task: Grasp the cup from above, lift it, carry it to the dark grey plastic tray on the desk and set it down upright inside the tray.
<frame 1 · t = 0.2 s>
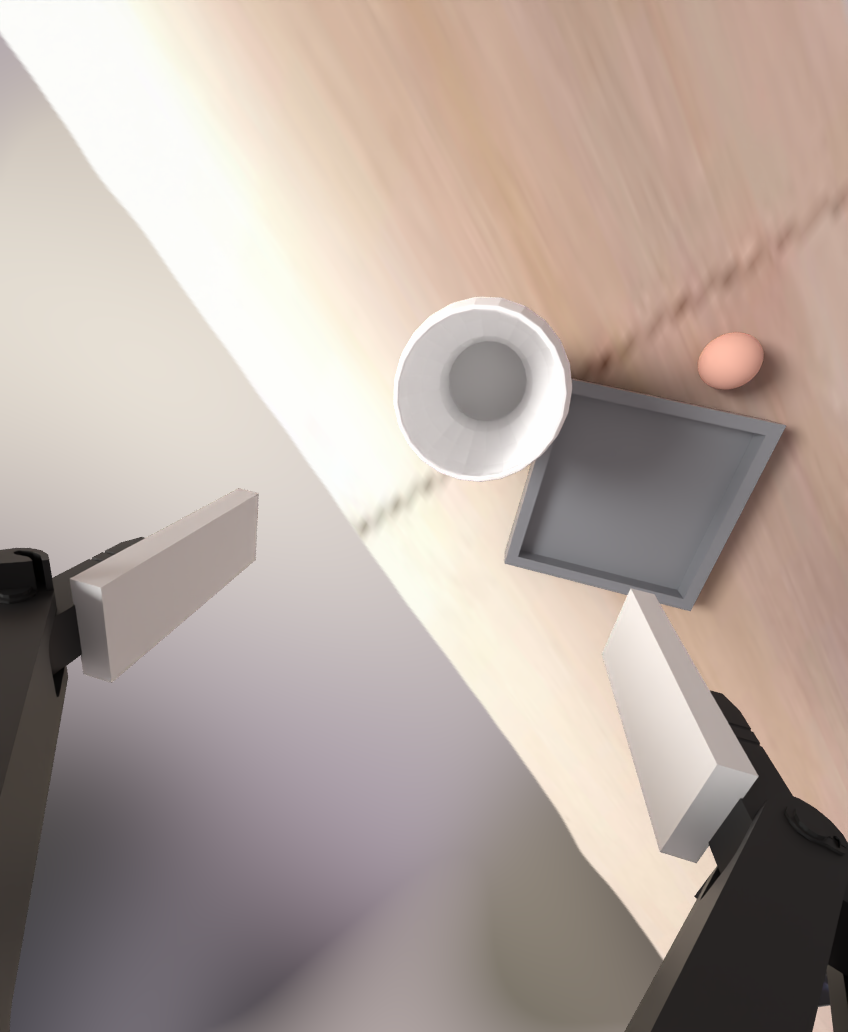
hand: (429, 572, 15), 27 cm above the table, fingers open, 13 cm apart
cup: (489, 379, 38), on the table
tray: (623, 493, 40), on the table
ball: (717, 360, 35), on the table
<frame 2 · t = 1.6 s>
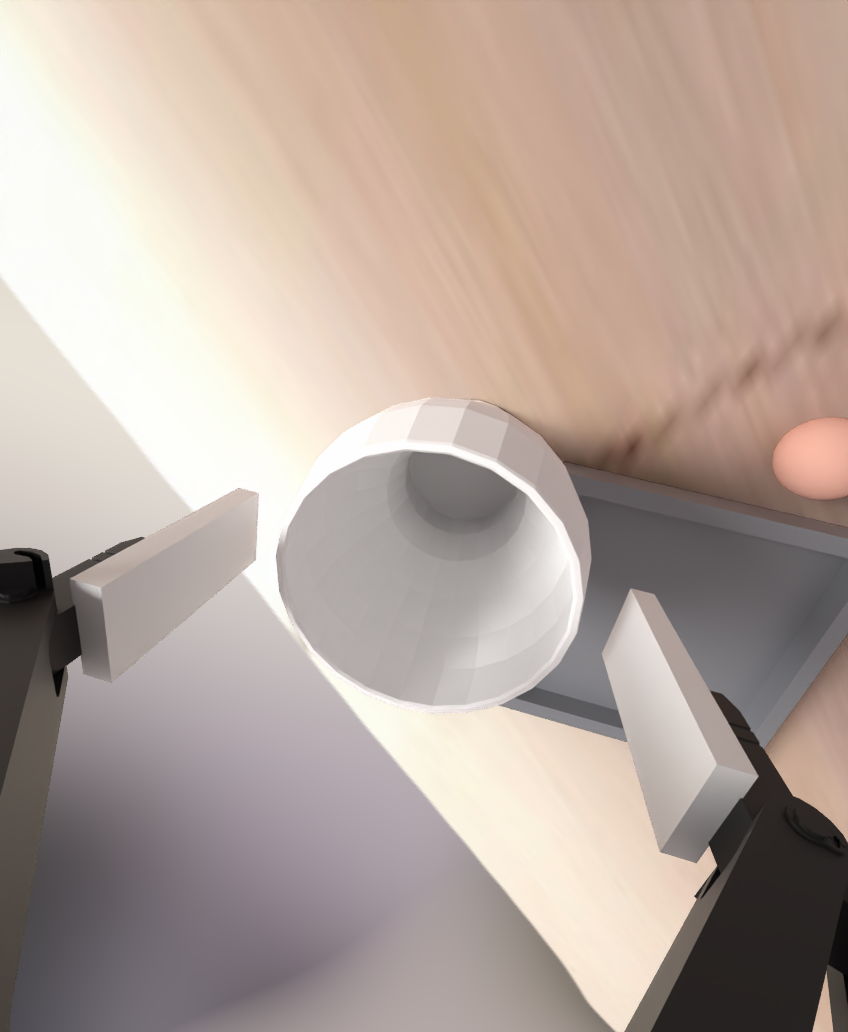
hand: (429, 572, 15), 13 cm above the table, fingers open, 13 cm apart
cup: (467, 463, 27), on the table
tray: (653, 616, 29), on the table
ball: (800, 449, 24), on the table
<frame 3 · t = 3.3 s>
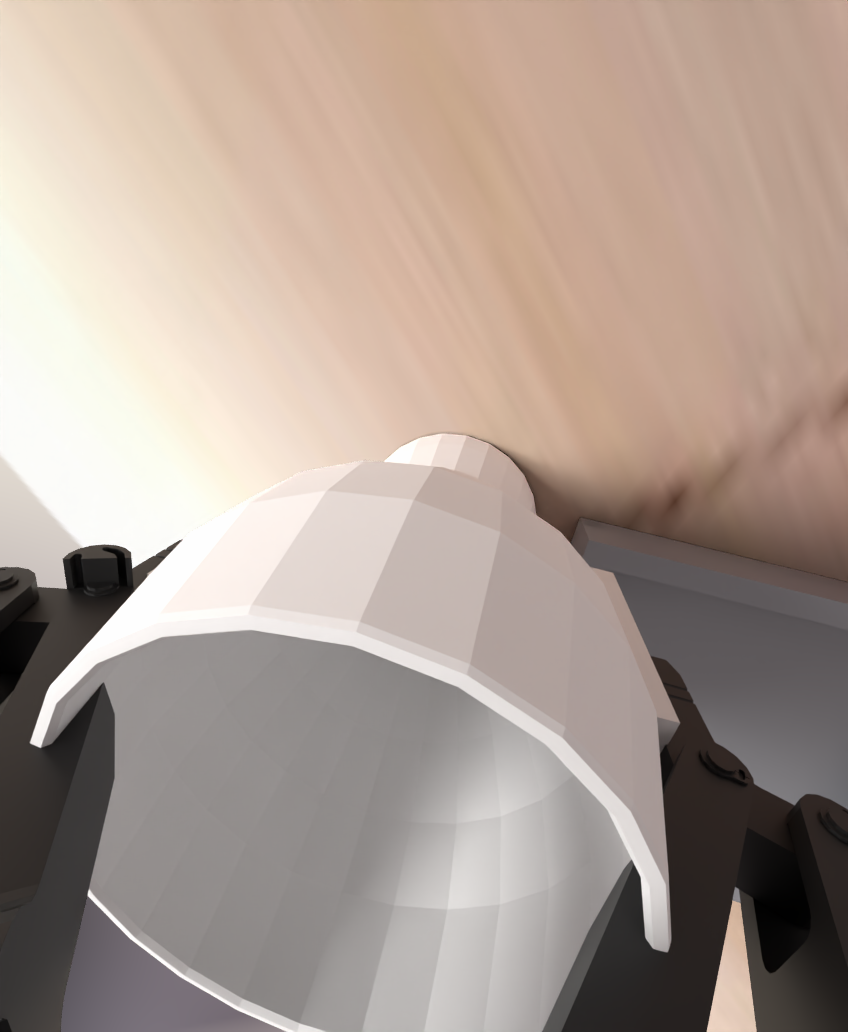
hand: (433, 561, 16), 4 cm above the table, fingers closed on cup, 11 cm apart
cup: (449, 516, 20), on the table, touching gripper
tray: (697, 716, 22), on the table
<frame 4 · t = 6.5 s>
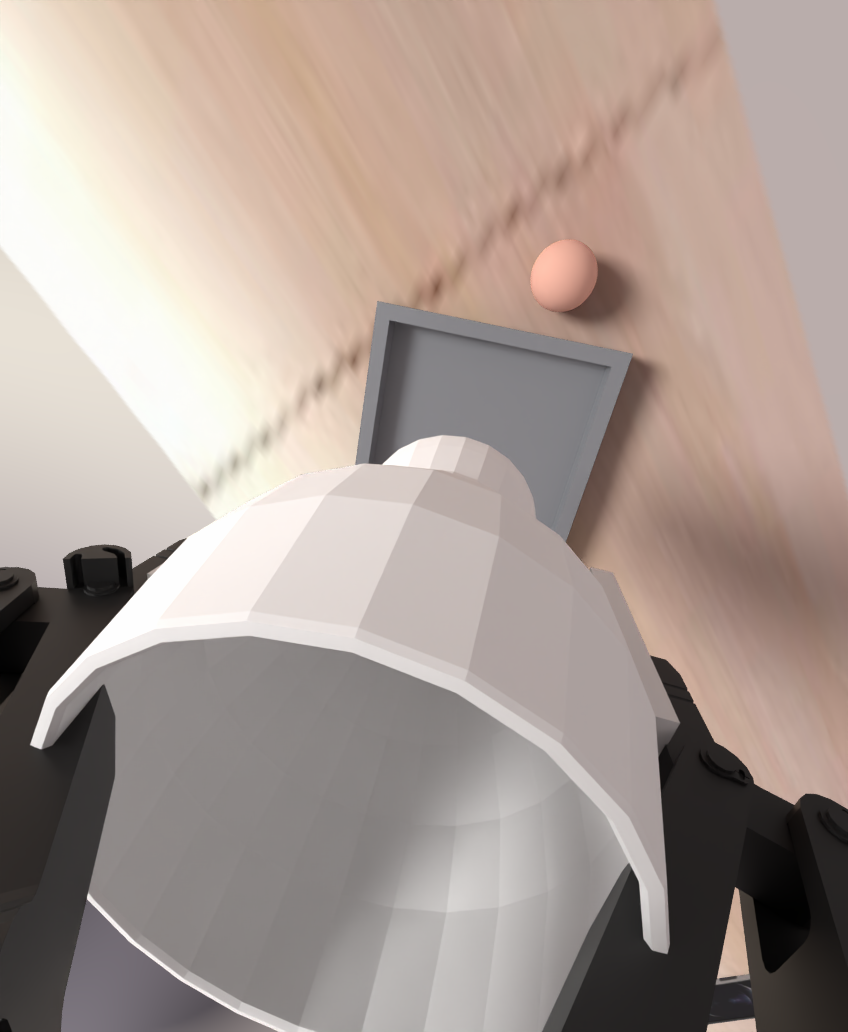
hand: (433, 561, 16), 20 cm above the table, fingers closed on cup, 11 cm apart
smartphone: (720, 991, 54), on the table
cup: (449, 517, 20), point 15 cm above the table, touching gripper
tray: (474, 444, 34), on the table
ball: (560, 280, 30), on the table
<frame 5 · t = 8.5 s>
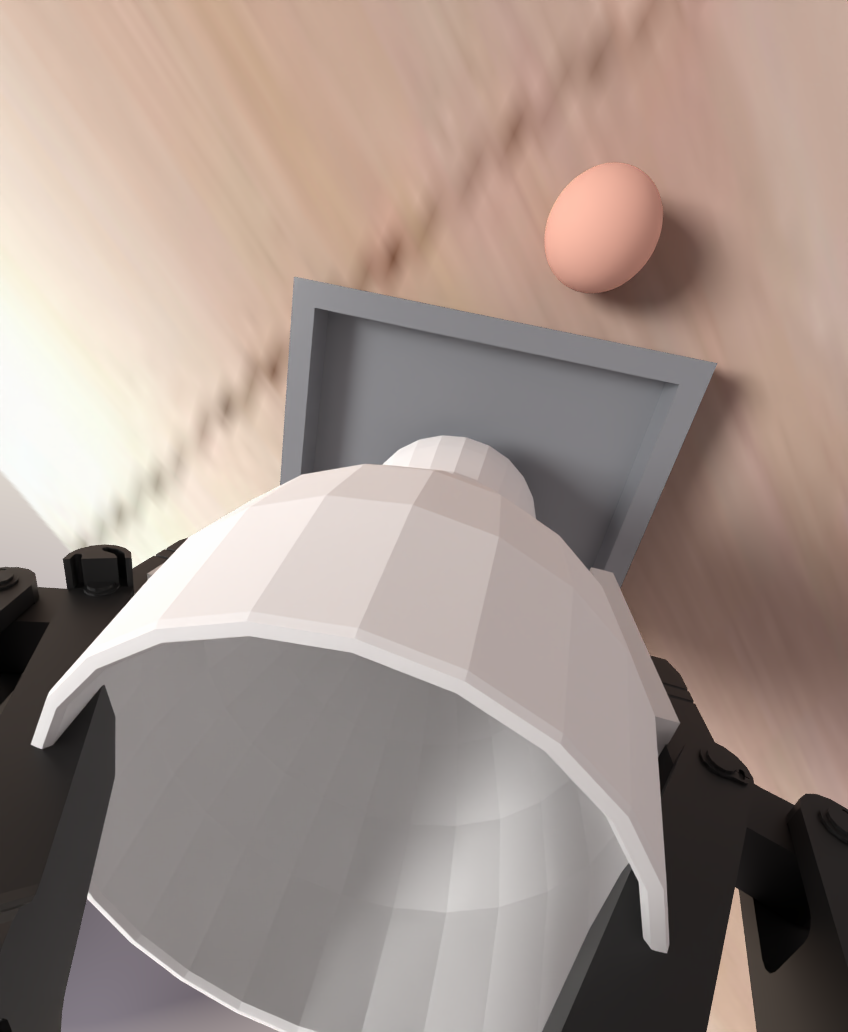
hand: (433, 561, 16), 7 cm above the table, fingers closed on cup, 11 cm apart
cup: (448, 517, 20), point 3 cm above the table, touching gripper
tray: (456, 496, 23), on the table
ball: (591, 243, 18), on the table
when the fingers open (7 cm above the table, at t = 9.7 s): cup drops 2 cm, resting on tray.
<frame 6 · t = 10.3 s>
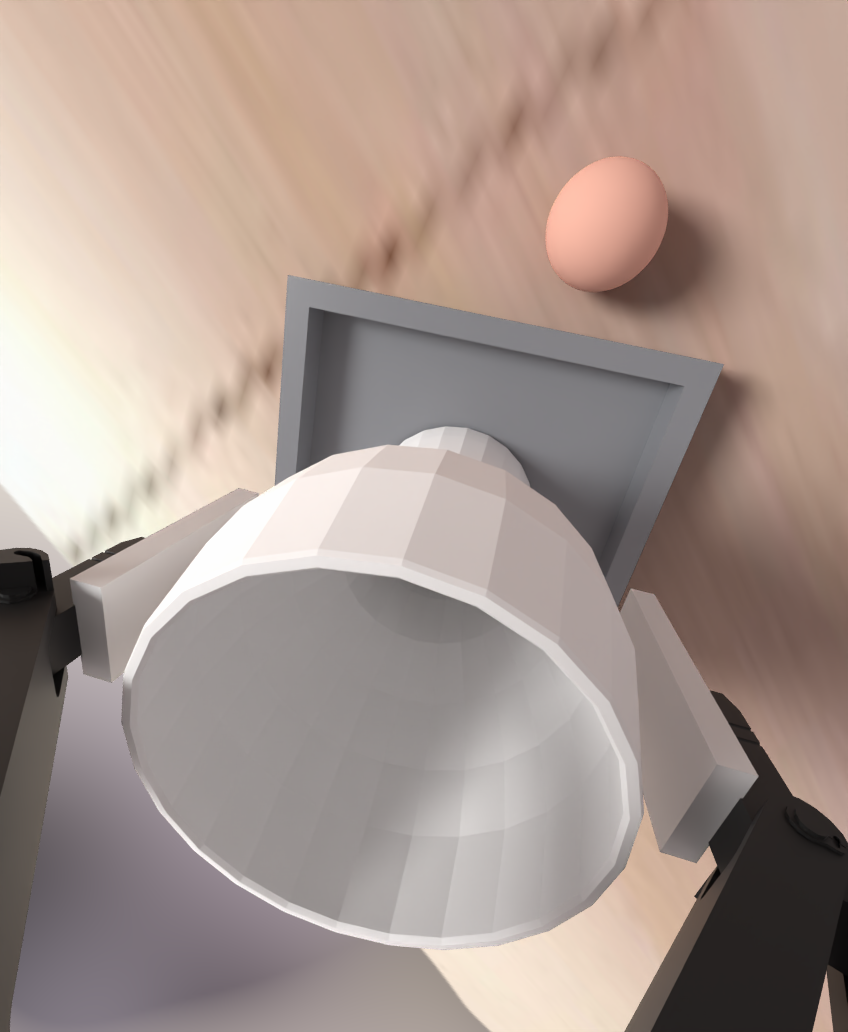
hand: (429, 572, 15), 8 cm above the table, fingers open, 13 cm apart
cup: (451, 503, 22), point 1 cm above the table, touching tray
tray: (454, 500, 22), on the table
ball: (594, 240, 18), on the table
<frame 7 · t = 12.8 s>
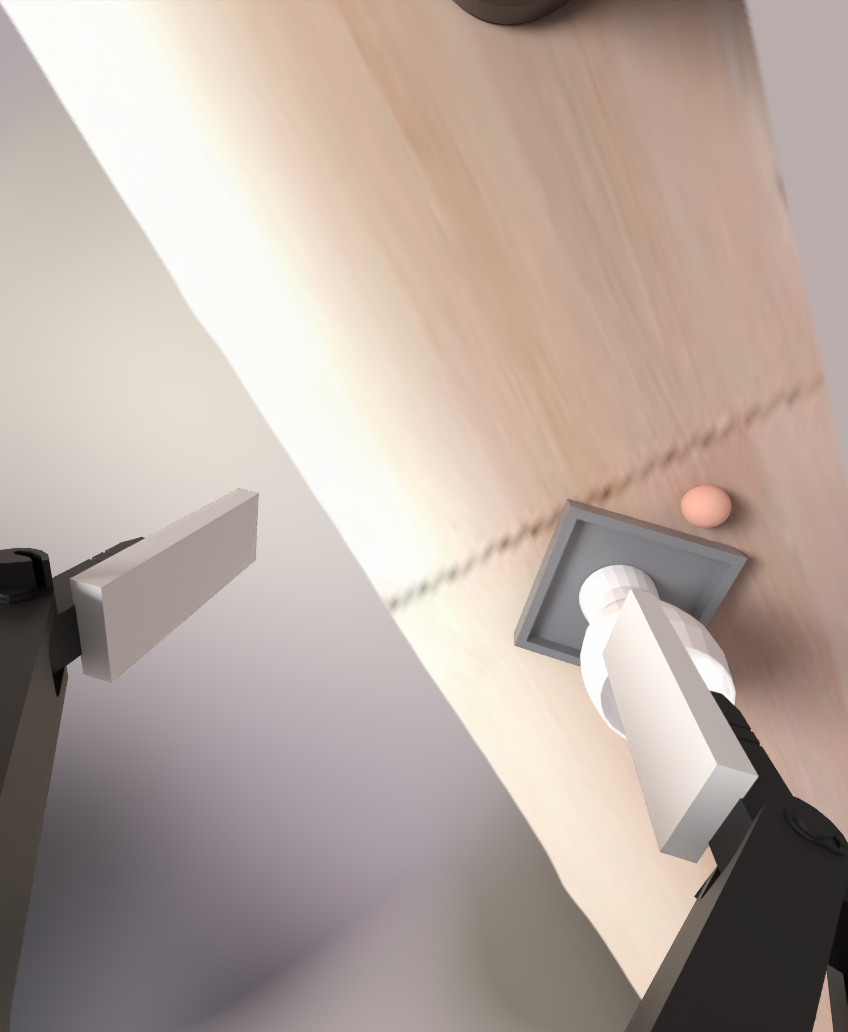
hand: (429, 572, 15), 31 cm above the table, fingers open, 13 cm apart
cup: (616, 596, 47), point 1 cm above the table, touching tray
tray: (616, 593, 48), on the table
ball: (696, 500, 43), on the table
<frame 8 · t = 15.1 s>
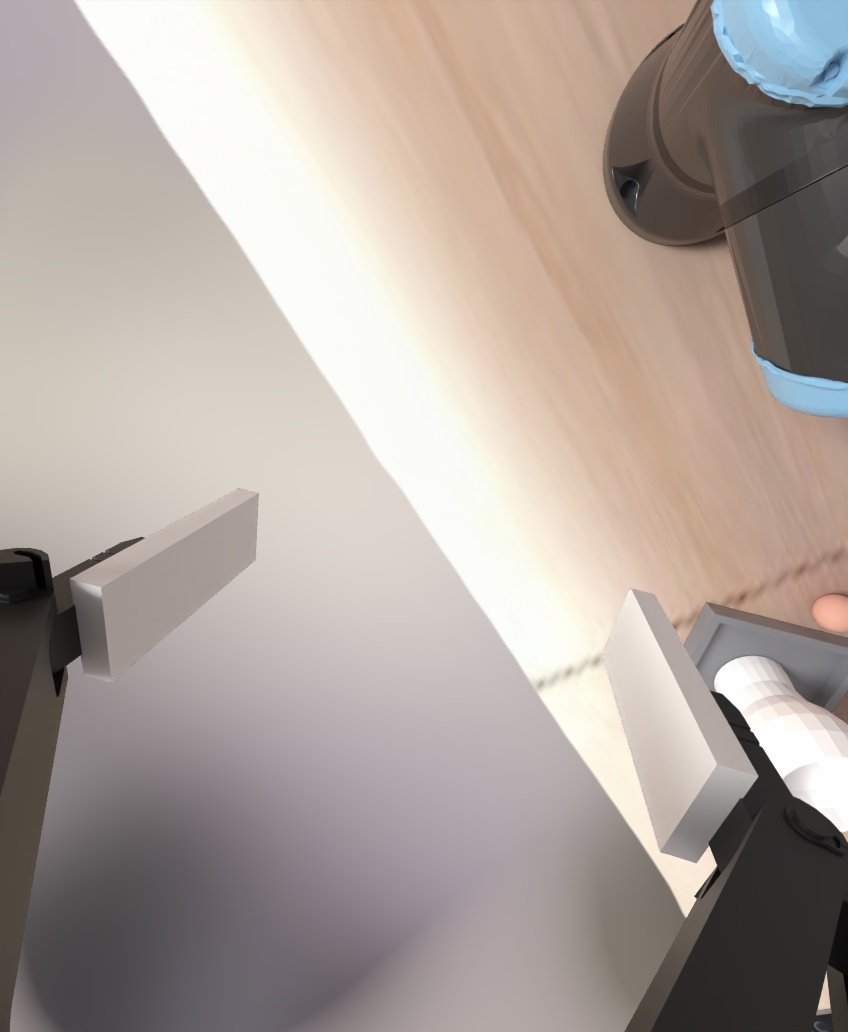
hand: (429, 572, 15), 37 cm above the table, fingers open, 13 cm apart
cup: (748, 680, 54), point 1 cm above the table, touching tray
tray: (746, 676, 55), on the table
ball: (824, 603, 50), on the table
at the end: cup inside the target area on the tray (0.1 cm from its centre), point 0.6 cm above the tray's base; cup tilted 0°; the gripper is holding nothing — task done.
